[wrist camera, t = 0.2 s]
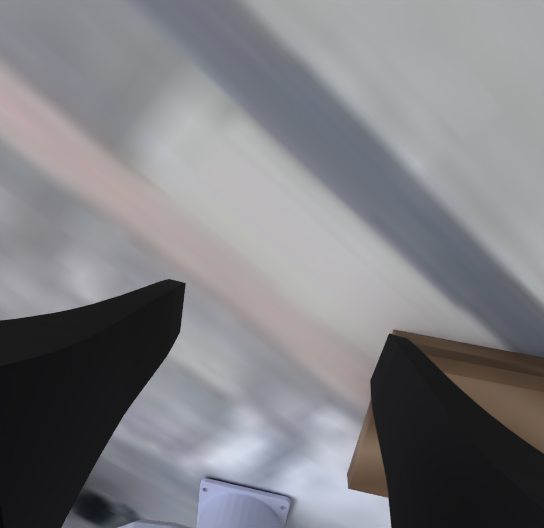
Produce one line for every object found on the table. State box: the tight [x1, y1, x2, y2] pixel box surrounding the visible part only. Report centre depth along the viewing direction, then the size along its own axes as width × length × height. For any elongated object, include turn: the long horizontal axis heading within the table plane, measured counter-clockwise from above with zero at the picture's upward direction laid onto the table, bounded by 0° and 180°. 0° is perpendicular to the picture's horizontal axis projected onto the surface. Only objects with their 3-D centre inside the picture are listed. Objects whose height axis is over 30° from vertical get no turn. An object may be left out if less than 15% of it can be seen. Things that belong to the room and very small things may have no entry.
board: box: [347, 330, 544, 498], centre depth 23 cm, size 14×14×2 cm
